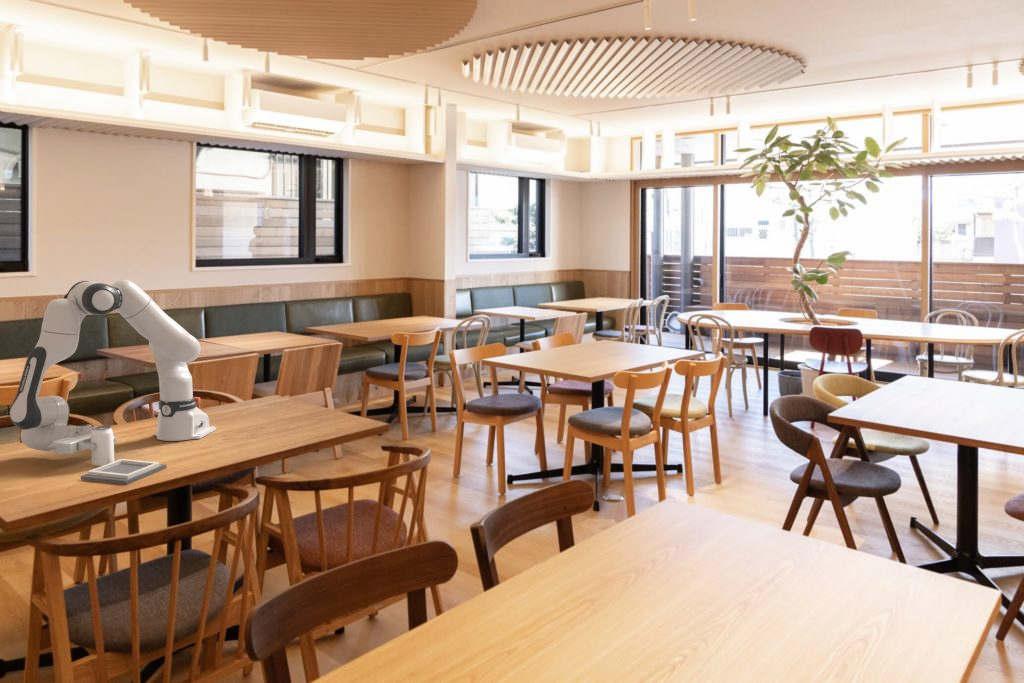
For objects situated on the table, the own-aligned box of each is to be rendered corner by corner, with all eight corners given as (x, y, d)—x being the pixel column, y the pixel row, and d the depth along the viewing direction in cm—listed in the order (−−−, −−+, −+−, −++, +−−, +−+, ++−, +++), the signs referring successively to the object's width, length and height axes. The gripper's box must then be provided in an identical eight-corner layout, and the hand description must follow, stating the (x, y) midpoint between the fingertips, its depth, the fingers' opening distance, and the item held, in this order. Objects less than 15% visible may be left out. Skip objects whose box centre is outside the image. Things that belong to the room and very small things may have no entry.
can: (105, 467, 252) (103, 430, 251) (87, 465, 254) (85, 429, 252) (119, 461, 259) (117, 425, 257) (101, 460, 260) (99, 424, 258)
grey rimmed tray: (123, 463, 257) (123, 457, 256) (166, 468, 253) (166, 461, 252) (80, 479, 239) (80, 472, 239) (126, 484, 235) (125, 477, 235)
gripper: (42, 437, 248) (79, 441, 245) (91, 423, 268) (126, 426, 264) (43, 457, 249) (80, 461, 245) (92, 441, 268) (127, 444, 265)
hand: (104, 442), depth 255 cm, fingers open, 7 cm apart
